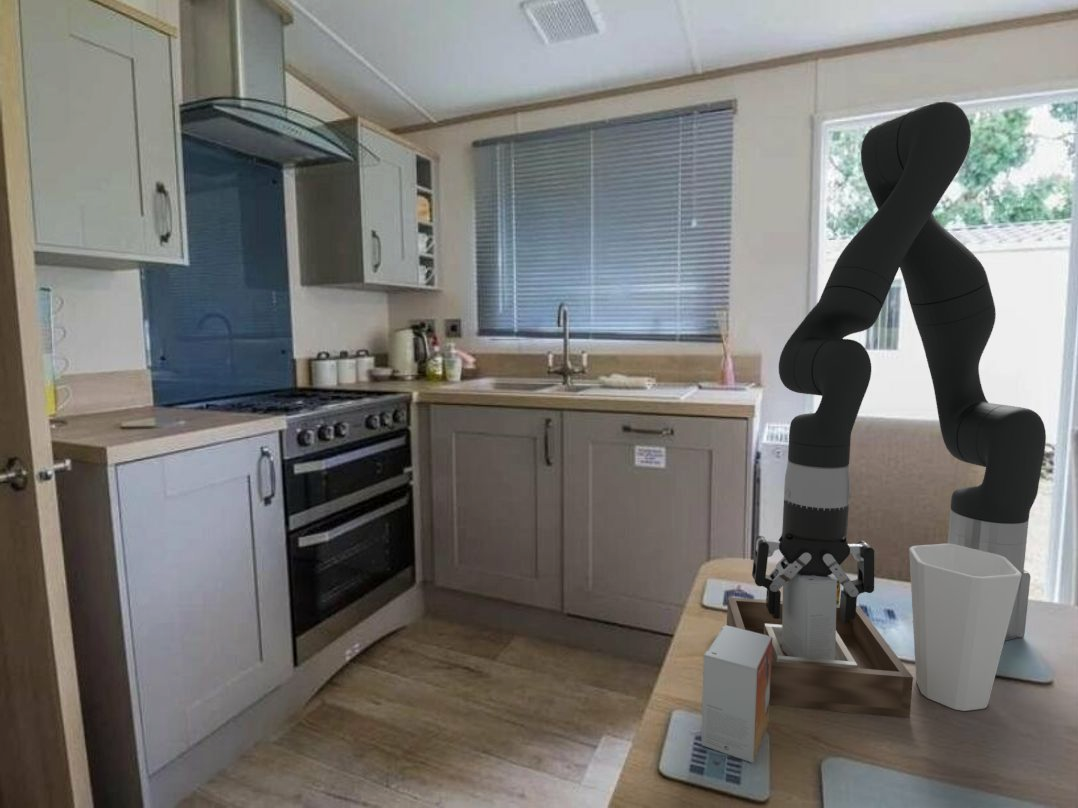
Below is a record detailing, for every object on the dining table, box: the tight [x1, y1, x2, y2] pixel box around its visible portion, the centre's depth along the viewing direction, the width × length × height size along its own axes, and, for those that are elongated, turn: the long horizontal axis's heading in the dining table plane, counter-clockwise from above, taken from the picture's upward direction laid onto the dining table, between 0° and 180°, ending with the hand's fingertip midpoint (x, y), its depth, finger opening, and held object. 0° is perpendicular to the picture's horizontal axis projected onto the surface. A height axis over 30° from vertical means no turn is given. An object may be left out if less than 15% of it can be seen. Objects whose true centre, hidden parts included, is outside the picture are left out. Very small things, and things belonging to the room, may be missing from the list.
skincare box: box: [782, 573, 837, 660], centre depth 80 cm, size 6×4×12 cm
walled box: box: [726, 596, 914, 719], centre depth 81 cm, size 18×18×5 cm
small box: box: [700, 624, 773, 764], centre depth 67 cm, size 8×6×10 cm
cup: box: [908, 543, 1022, 712], centre depth 74 cm, size 11×10×17 cm
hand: (809, 618), depth 80 cm, fingers open, 8 cm apart
